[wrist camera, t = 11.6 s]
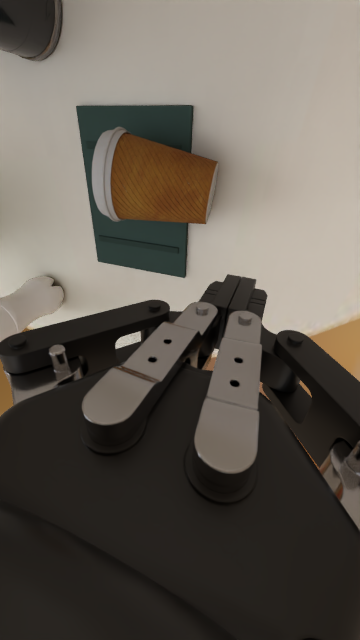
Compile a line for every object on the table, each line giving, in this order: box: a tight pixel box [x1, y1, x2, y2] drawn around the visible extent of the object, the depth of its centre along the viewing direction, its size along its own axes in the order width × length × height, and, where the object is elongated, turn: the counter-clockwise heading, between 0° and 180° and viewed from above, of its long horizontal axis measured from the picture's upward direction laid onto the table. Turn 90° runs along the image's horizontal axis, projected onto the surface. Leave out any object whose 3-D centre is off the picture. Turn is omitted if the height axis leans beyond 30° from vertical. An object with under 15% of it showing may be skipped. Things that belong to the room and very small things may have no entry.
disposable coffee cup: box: [92, 127, 218, 224], centre depth 31 cm, size 10×10×12 cm
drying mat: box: [76, 105, 193, 278], centre depth 37 cm, size 15×20×1 cm
